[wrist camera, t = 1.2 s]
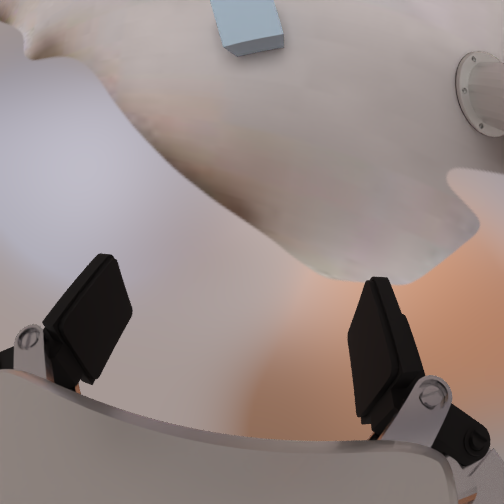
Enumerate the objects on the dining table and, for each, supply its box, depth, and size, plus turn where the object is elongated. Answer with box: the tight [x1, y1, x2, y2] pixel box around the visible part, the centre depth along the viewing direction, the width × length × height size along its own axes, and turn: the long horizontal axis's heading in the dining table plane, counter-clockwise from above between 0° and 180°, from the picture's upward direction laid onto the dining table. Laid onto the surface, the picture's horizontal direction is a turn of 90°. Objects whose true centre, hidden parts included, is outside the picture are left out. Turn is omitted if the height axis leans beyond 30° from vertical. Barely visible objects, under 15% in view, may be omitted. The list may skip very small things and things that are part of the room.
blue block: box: [210, 0, 284, 57], centre depth 21 cm, size 6×6×8 cm
